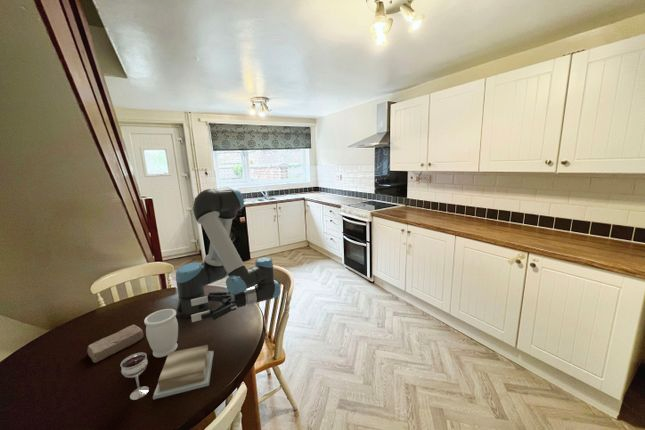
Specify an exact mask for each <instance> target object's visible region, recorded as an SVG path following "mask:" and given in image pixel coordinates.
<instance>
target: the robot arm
mask: <svg viewBox="0 0 645 430" xmlns="http://www.w3.org/2000/svg"><path fill="white" fill-rule="evenodd" d="M193 201H194V202H193V207H192V209H193V215H194V217H195V221H196V222H197V223H198V224H199V225H201V226H202V228H203V230H204V232H205V234H206V236H207V237H208V240H209V247H208V254H206V255H205V256H204V260H203V262H202V263H200V262H197V261H196V262H191V263H190V262H189V263H185V264H183V265H182V266H180V267H179V268H177V270H176V272H175V281H176V287H177V296H178V297H177V298H178V299H177V305H176V309H175V310H176V316H178V317H179V318H180V319H181V318H183V319H188V318H189V319H190V318H191V322H192V323H196V322H198V321H202V320H206V319H212V320H214V321H215V320H217V319H220V318H221V317H223V316H225V315H227V314H229V313H231V312H234V311H236V310H237V308H243V307H245V306H246V305H247V306H250V305H254V304H257V303H261V302H265V301H269V300H273V299H276V298H278V297H280V295H281V288H280V287H281V286H280V283H279V282H278V280H275V279H274V277H275V276H274V263H273V259H272V258H271V257H266V256H264V257H259V258H257V259H256V260H255V265H254V266H252V267H250V268H247V267H246V265H245V264H244V261H243V260H242V258H241V255H240V254H239V253H238V251H237V248H236V247H235V245H234V243H233V241H232V239H231V237H230V235H231V229H232V223H233V220H234V219H235V218H237V214H238V211H241V210H242V209H243V208H244V206H245V199H244V196H243V194H242V192H241V191H240V190H239V189H238V188H236V187H227V186H226V187H222V188H221V187H220V188H207V189H204V190H202V191H201V192H199V193H198V194H197V195H196V196H195V199H194V200H193ZM225 278H227V279H226V280H225V284H226V289H227V291H217V292H215V291H214V292H208V294H206V292H205V287H206V286H208V285H210V284H213V283H216V282H218V281H220V280H223V279H225ZM210 302H217V303H221V304H219V305H218V306H217V307H215V308H214V309H210V306H211V305H210Z"/></svg>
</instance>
